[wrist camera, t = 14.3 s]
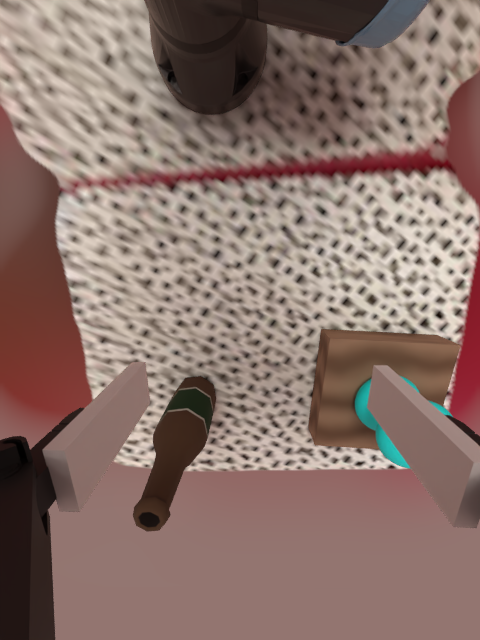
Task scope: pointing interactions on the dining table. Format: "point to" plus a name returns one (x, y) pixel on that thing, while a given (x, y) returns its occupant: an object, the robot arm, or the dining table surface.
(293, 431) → the dining table surface
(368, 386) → the donuts
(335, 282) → the dining table surface
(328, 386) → the walnut stand
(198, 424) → the beer bottle
